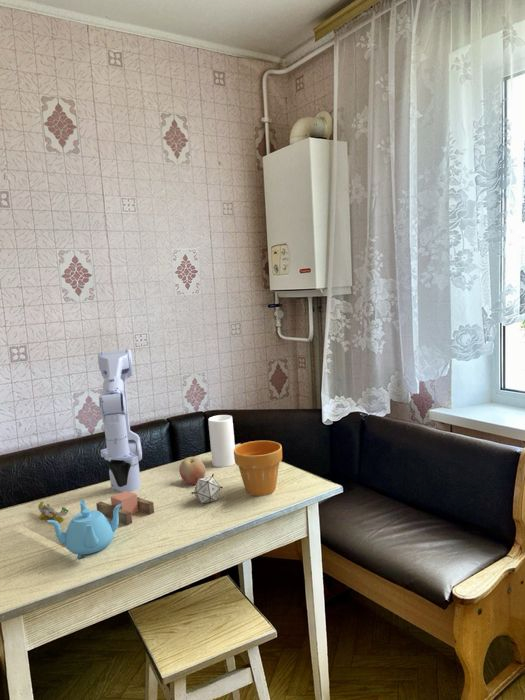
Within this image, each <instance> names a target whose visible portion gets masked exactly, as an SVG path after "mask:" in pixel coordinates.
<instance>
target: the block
mask: <svg viewBox="0 0 525 700" xmlns="http://www.w3.org/2000/svg"><path fill="white" fill-rule="evenodd" d="M137 497H138V495H137V493H134V492H132V491H131V492H128V491H124V492H119V493H117V494H114V495H112V496H110V503H111V504H110V505H112V506H115V507H116V506H117V505H119V504H121V503H123V504H122V505H121V507H120V509H123V510H126V511H128V512H131V516H132V515H135V514H136V513H138V512H140V511H139V510H138V502H137Z"/></svg>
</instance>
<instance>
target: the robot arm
mask: <svg viewBox="0 0 525 700" xmlns="http://www.w3.org/2000/svg"><path fill="white" fill-rule="evenodd" d="M97 362H98V369H99V370H100V374H101V376H102V379H104V381H103V382H102V394H101V397H99V401H98V405H99V406H98V407H99V412H100V415H101V419H102V420H101V421H102V424H103V426H104V435H105V444H106V448H103V449H101V450H100V457H101V458H104V460H105V461H108V462H106V466H107V467H108V468H109V470H108V473H109V474H108V475H109V481H110V482H109V483H110V488H111V489H114V490H117V492H119V493H121V492H124V491H128V492H131V493H132V492H134V491H137V490H139V489H140V488H141V487H142V481H141V475H140V464H139V462H140V461H141V460H142V459H143V450H142V444H141V438H140V436H139V434H137V433H136V432H133V431H132V430H131V426H130V425H131V424H130V414H129V403H128V389H127V383H128V379H129V378H131V377H132V376H133V373H134V369H133V368H134V367H133V365H134V364H133V355H132V350H131V349H130V348H125V349H118V350H106V351H99V352H98V354H97Z"/></svg>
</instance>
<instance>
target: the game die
mask: <svg viewBox="0 0 525 700" xmlns="http://www.w3.org/2000/svg"><path fill="white" fill-rule="evenodd" d="M214 475H215V474H214V473H212V475H211V476H206V477H205V476H204V478H200V479H198V478H197V477H196V479H197V482H196V484H195V485H194V486H195V487H194V489H193V491H192V492H191V493H190V494H192V495H193V494H194V496H195V497H196V499H197V501H198V502H199V503H200V504H202V505H203V504H207V503H211V502H212V503H213V502H216V501H218V498H219V495H220V491H221V489H223V488H224V486H220V484H219V483H218V481H217V480H216V479H215V477H214Z"/></svg>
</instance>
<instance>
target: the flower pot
mask: <svg viewBox="0 0 525 700" xmlns="http://www.w3.org/2000/svg"><path fill="white" fill-rule="evenodd" d="M234 460H235V465H237V466H238V469H239V473H240V476H241V480H242V483H243V486H244V489H245V492H246V493H247V494H248V495H250V496H257V497H259V496H267V495H269V494H272V493H275V491H276V488H277V487H276V486H277V484H278V483H277V481H278V475H279V468H280V463H281V462H282V461H283V447H282V444H281V443H279V442H276V441H272V440H254V441H248V442H247V441H246V442H243V443H240V444H238V445H237V446H235V449H234Z"/></svg>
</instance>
